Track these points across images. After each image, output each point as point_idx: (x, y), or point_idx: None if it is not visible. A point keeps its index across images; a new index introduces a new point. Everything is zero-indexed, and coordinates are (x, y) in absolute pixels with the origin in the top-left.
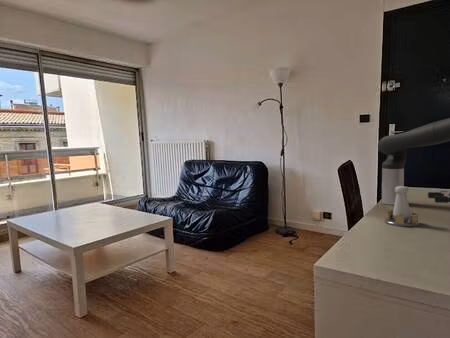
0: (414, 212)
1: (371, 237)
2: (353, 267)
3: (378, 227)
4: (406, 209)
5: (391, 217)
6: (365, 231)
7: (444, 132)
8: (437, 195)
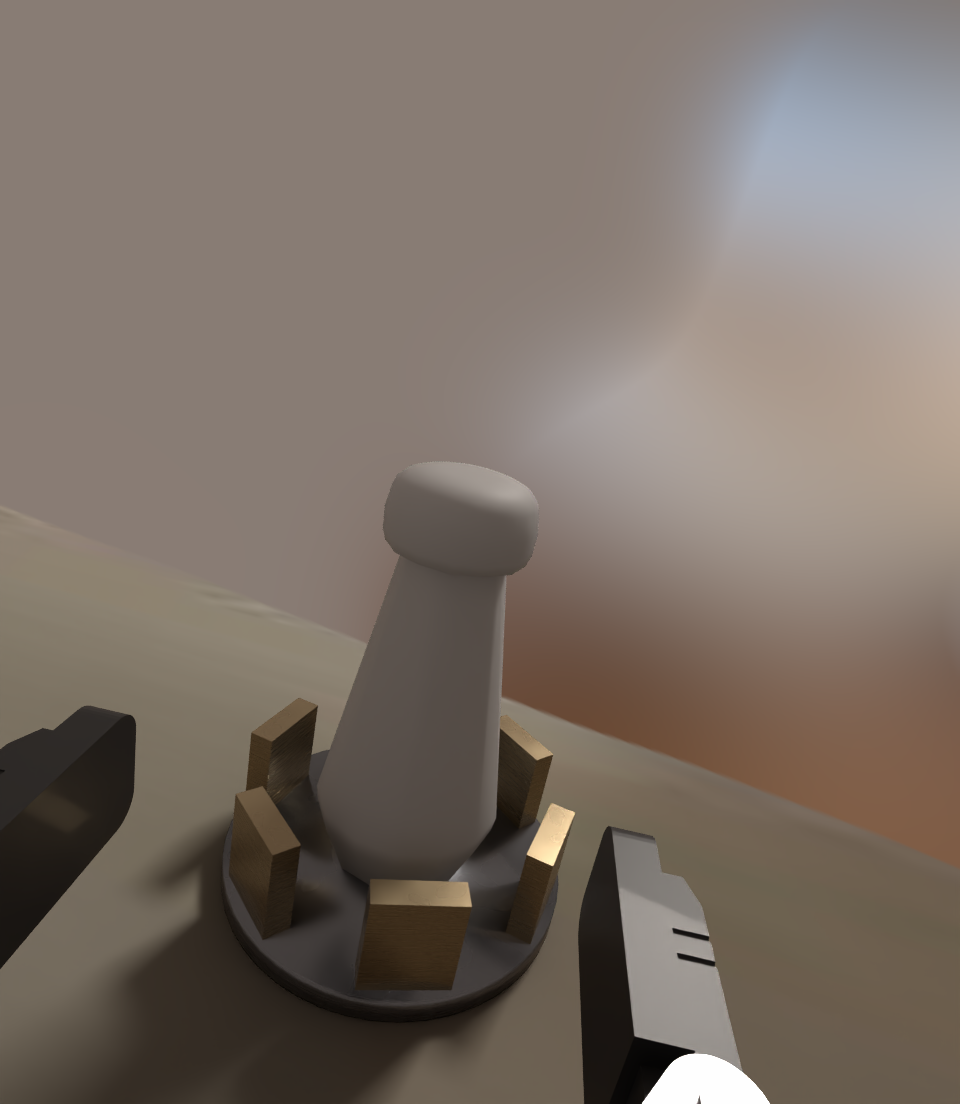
0: (444, 896)
1: (37, 596)
2: None
3: (256, 685)
4: (345, 733)
5: (505, 807)
6: (175, 614)
7: None
8: (608, 1034)
